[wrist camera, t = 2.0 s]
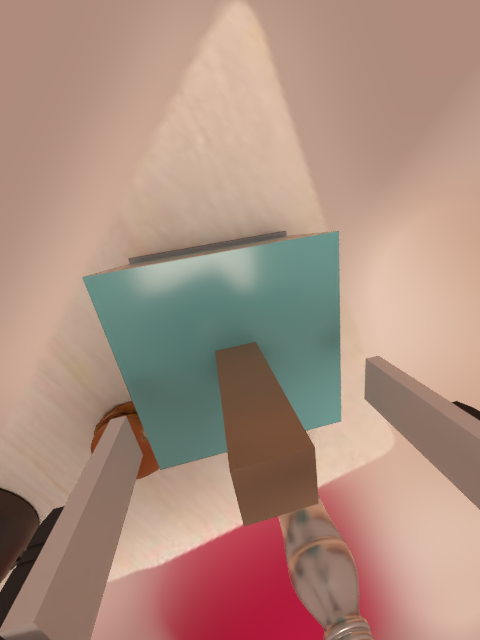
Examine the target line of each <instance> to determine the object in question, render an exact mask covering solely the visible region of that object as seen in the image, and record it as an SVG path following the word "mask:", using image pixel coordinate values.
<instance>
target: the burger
mask: <svg viewBox="0 0 480 640" xmlns="http://www.w3.org/2000/svg"><path fill="white" fill-rule="evenodd" d="M123 416H126V417H127V419H128V421H129V424H130V426H131V428H132V431H133V433H134V435H135V438H136V440H137V442H138V444H139V447H140V449H141V451H142V454H143V457H142V460H141V464H140V467H139V471H138V474H137V478H136V479H140V478H143V477H145V476H148V475H149V474H151V473H153V472H155V471H157V470H158V469H160V468H159V465H158V463H157V460H156V458H155V455H154V453H153V450H152V448H151V445H150V443H149V440H148V438H147V436H146V433H145V431H144V428H143V426H142V423H141V421H140V418H139V416H138V413H137V411H136V408H135V406H134V403H133V402H129V403H125V404H123V405H121V406H119V407H117V408H115V409H114V410H113V411H112V412H110V413H109V414H108V415H107V416H106V417H105V418H104V419H102V420H101V421H100V422H99V423H98V424H97V425H96V428H95V431H94V438H93V440H92V444H91V453H92V454H93V452H94V450H95V448H96V446H97V444H98V442H99V440H100V438H101V437H102V435H103V433H104V431H105V429H106V427H107V425H108V423H109V421H110V419H114V418H118V417H123Z"/></svg>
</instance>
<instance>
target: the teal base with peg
mask: <svg viewBox="0 0 480 640" xmlns="http://www.w3.org/2000/svg"><path fill="white" fill-rule="evenodd" d="M83 280H84V282H85V285H86V287H87V290H88V292H89V295H90V297H91V300H92V302H93V305H94V307H95V309H96V312H97V314H98V317H99V319H100V322H101V324H102V327H103V329H104V332H105V334H106V337H107V339H108V342H109V344H110V347H111V349H112V352H113V354H114V356H115V359H116V361H117V364H118V366H119V369H120V371H121V374H122V376H123V379H124V381H125V384H126V386H127V389H128V391H129V394H130V396H131V398H132V401H133V403H134V406H135V408H136V411H137V413H138V416H139V418H140V421H141V423H142V426H143V428H144V431H145V433H146V436H147V438H148V440H149V443H150V445H151V448H152V450H153V453H154V455H155V458H156V460H157V463H158V465H159V468H160V470H162V469H165V468H169V467H173V466H176V465H180V464H184V463H188V462H191V461H195V460H199V459H202V458H206V457H210V456H214V455H217V454H221V453H225V452H228V460H229V468H230V473H231V477H232V481H233V485H234V489H235V493H236V497H237V501H238V505H239V509H240V513H241V516H242V520H243V524H244V526H247V525H250V524H253V523H257V522H260V521H263V520H267V519H270V518H273V517H277V516H280V515H283V514H287V513H290V512H293V511H296V510H300V509H303V508H306V507H310V506H313V505H316V504H319V503H318V488H317V473H316V458H315V447H314V445H313V443H312V442H311V440H310V438H309V436H308V435H307V433H306V431H307V430H310V429H314V428H318V427H322V426H325V425H329V424H333V423H336V422H340V421H341V370H340V290H339V231H333V232H323V233H312V234H302V235H292V236H282V237H276V238H271V239H265V240H259V241H254V242H248V243H243V244H237V245H231V246H226V247H220V248H215V249H209V250H203V251H198V252H192V253H186V254H181V255H175V256H170V257H164V258H158V259H153V260H147V261H142V262H136V263H132V264H128V265H125V266H121V267H118V268H114V269H110V270H107V271H103V272H100V273H96V274H92V275H89V276H85V277H83Z"/></svg>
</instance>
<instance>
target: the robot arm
mask: <svg viewBox="0 0 480 640" xmlns="http://www.w3.org/2000/svg"><path fill="white" fill-rule="evenodd" d="M365 400H366V401H368V402H369V403H370V404H371V405H372V406H373V407H374V408H375V409H376V410H377V411H378V412H379V413H380V414H381V415H382V416H383V417H384V418H385V419H386V420H387V421H388V422H389V423H390V424H391V425H393V426H394V427H395V428H396V429H397V430H398V431H399V432H400V433H401V434H402V435H403V436H404V437H405V438H406V439H407V440H408V441H409V442H410V443H411V444H412V445H413V446H414V447H415V448H416V449H417V450H418V451H420V452H421V453H422V454H423V455H424V456H425V457H426V458H427V459H428V460H429V461H430V462H431V463H432V464H433V465H434V466H435V467H436V468H437V469H438V470H439V471H440V472H441V473H442V474H443V475H444V476H446V477H447V478H448V479H449V480H450V481H451V482H452V483H453V484H454V485H455V486H456V487H457V488H458V489H459V490H460V491H461V492H462V493H463V494H464V495H465V496H466V497H467V498H468V499H469V500H470V501H471V502H472V503H474V504H475V505H476V506H477V507H478V508H479V509H480V411H478V410H477V409H475V408H473V407H470V406H468V405H465V404H463V403H460V402H458V401H455V402H450V401H448V400H446V399H445V398H443V397H442V396H440V395H439V394H437V393H436V392H434V391H433V390H431V389H429V388H428V387H426V386H425V385H423V384H422V383H420V382H418V381H417V380H415V379H414V378H412V377H411V376H409V375H408V374H406V373H404V372H403V371H401V370H400V369H398V368H397V367H395V366H394V365H392V364H390V363H389V362H387V361H386V360H384V359H383V358H381V357H380V356H376V357H372V358H367V359H366V369H365ZM142 457H143V454H142V451H141V449H140V447H139V444H138V442H137V440H136V438H135V435H134V433H133V431H132V428H131V426H130V424H129V421H128V419H127V417H126V416H123V417H118V418H114V419H110V421H109V423H108V425H107V427H106V429H105V431H104V433H103V435H102V437H101V438H100V440H99V442H98V444H97V446H96V448H95V450H94V452H93V454H92V456H91V457H90V459H89V461H88V463H87V465H86V467H85V469H84V471H83V473H82V474H81V476H80V478H79V480H78V482H77V484H76V486H75V488H74V490H73V492H72V493H71V495H70V497H69V499H68V501H67V503H66V505H65V506H64V507H60V508H56V509H53V510H52V512H51V513H50V514H49V515H48V516H47V517H46V519H45V520H44V521H43V522H42V523H41V524H40V526H39V520H38V517H37V515H36V513H35V511H34V510H33V509H32V507H31V506H30V505H29V504H27V503H26V502H25V501H24V500H22V499H20V498H19V497H17V496H15V495H13V494H11V493H8V492H5V491H2V490H0V583H1V582H2V580H3V579H4V578H5V577H6V575H7V574H8V573H9V571H10V570H11V569H12V568H14V567H15V566H16V565H17V566H16V568H15V569H13V571H12V573H11V575H10V576H9V578H8V580H7V581H6V583H5V585H4V587H3V588H2V590H1V592H0V640H90V638H91V635H92V631H93V628H94V625H95V621H96V617H97V614H98V610H99V607H100V603H101V600H102V596H103V593H104V589H105V586H106V583H107V579H108V576H109V572H110V569H111V565H112V562H113V558H114V555H115V551H116V548H117V544H118V541H119V537H120V534H121V530H122V527H123V523H124V520H125V516H126V513H127V509H128V506H129V502H130V499H131V495H132V492H133V488H134V485H135V481H136V478H137V474H138V471H139V467H140V464H141V460H142Z"/></svg>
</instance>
